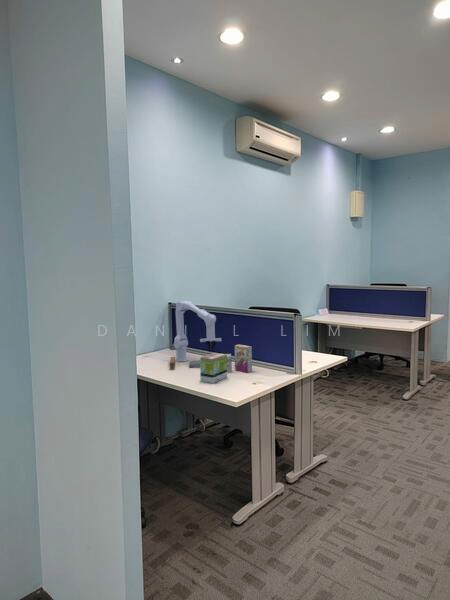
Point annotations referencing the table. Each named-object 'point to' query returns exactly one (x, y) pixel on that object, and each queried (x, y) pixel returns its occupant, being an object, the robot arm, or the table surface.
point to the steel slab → (194, 364)
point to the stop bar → (172, 363)
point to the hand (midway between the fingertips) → (211, 351)
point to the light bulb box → (229, 363)
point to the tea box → (213, 367)
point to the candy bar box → (243, 358)
